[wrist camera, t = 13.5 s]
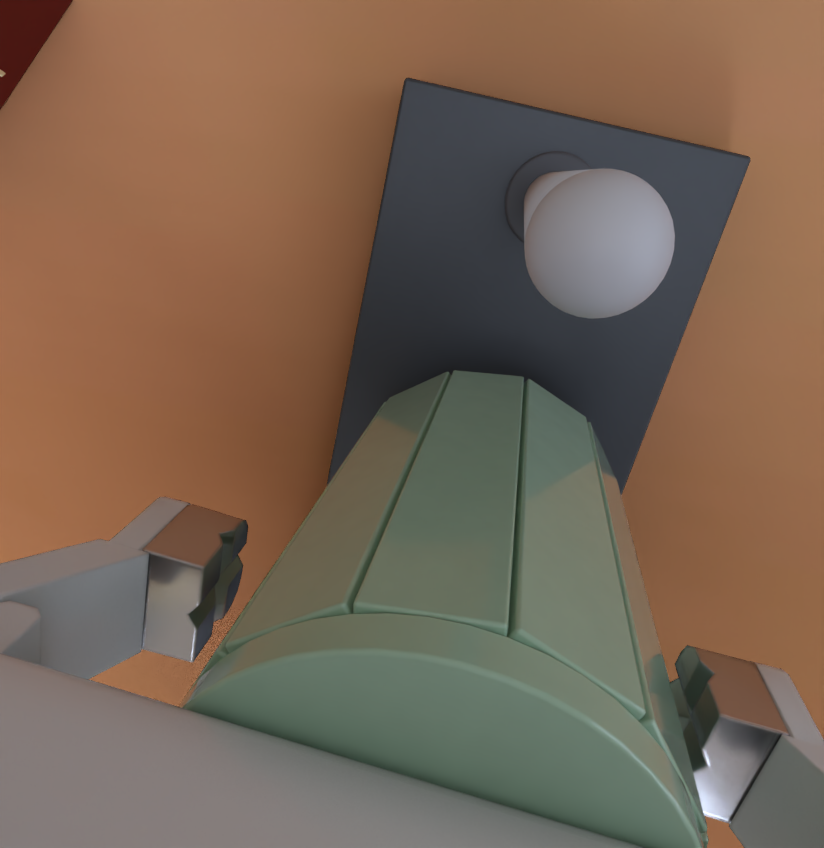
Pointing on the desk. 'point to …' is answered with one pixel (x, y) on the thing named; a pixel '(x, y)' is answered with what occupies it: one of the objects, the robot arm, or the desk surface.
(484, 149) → the dish rack
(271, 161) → the desk surface
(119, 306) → the desk surface
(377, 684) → the cup
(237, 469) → the desk surface
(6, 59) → the toy houses
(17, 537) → the desk surface
